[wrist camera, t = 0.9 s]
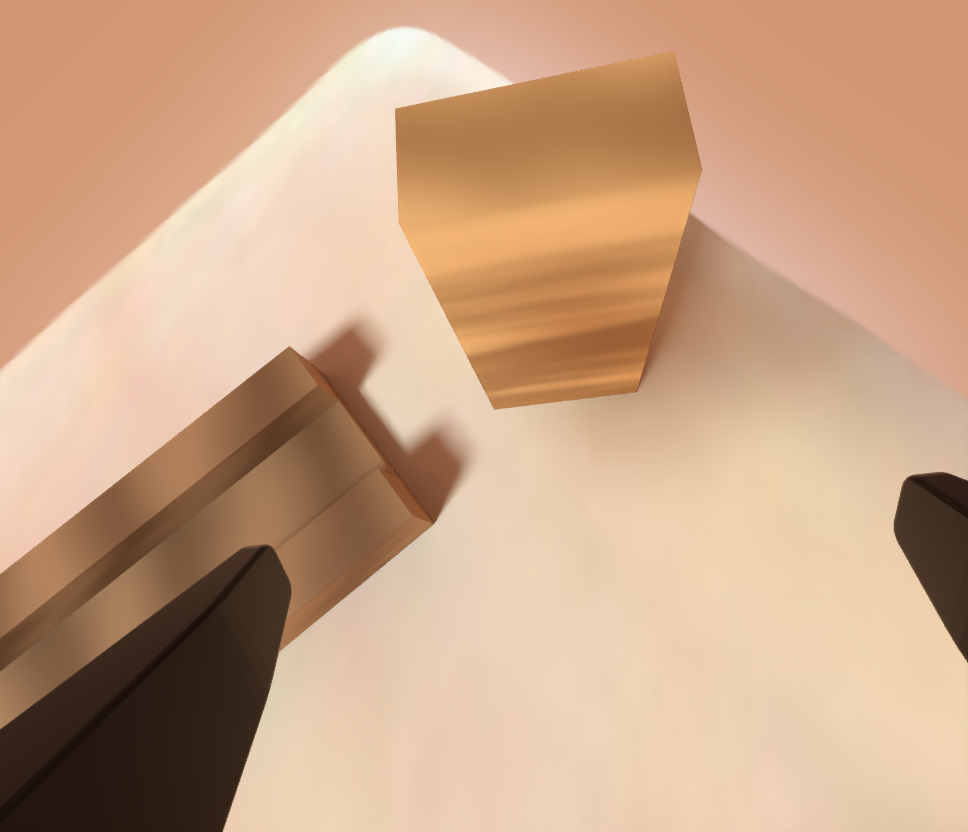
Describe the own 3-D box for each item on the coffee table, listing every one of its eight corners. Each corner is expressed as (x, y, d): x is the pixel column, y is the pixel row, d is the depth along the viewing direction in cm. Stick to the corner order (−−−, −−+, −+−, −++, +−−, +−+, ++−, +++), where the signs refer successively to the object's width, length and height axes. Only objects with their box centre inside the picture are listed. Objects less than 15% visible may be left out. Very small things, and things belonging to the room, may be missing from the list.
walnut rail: (38, 849, 21) (-45, 891, 19) (-31, 652, 24) (-112, 662, 22) (434, 524, 22) (412, 516, 20) (321, 372, 25) (289, 346, 23)
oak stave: (636, 391, 23) (702, 169, 10) (494, 409, 23) (398, 223, 11) (625, 326, 24) (674, 51, 11) (488, 346, 24) (395, 108, 12)
